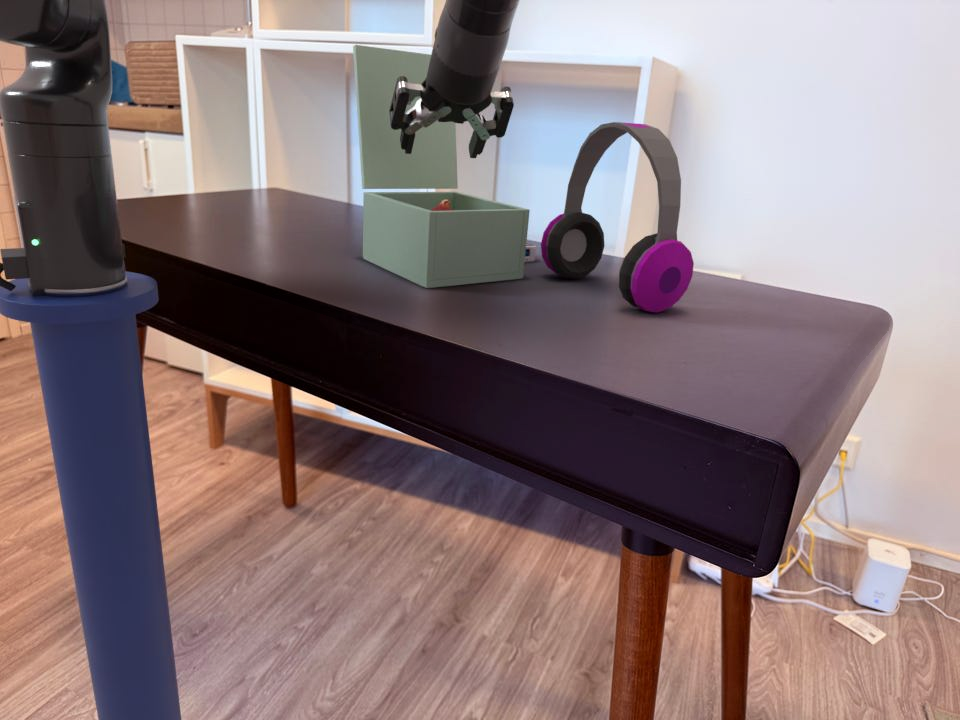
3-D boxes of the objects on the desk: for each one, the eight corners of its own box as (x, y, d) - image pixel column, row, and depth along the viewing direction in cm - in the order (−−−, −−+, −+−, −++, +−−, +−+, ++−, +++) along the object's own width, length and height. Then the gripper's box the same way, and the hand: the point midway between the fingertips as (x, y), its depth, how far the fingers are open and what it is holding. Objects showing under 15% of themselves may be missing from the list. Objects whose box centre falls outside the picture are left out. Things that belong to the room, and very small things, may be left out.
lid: (453, 57, 92) (436, 63, 95) (355, 44, 84) (340, 51, 87) (457, 188, 96) (441, 189, 99) (364, 188, 87) (350, 190, 91)
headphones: (532, 274, 89) (548, 116, 82) (584, 271, 93) (604, 121, 86) (634, 319, 72) (665, 125, 65) (693, 313, 76) (728, 130, 69)
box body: (523, 278, 87) (529, 209, 84) (426, 288, 78) (429, 212, 75) (452, 252, 99) (456, 191, 96) (362, 258, 91) (363, 192, 88)
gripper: (406, 67, 68) (387, 171, 82) (536, 80, 72) (496, 177, 86) (400, 14, 71) (382, 124, 85) (525, 30, 75) (488, 132, 89)
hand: (440, 151), depth 86 cm, fingers open, 8 cm apart
